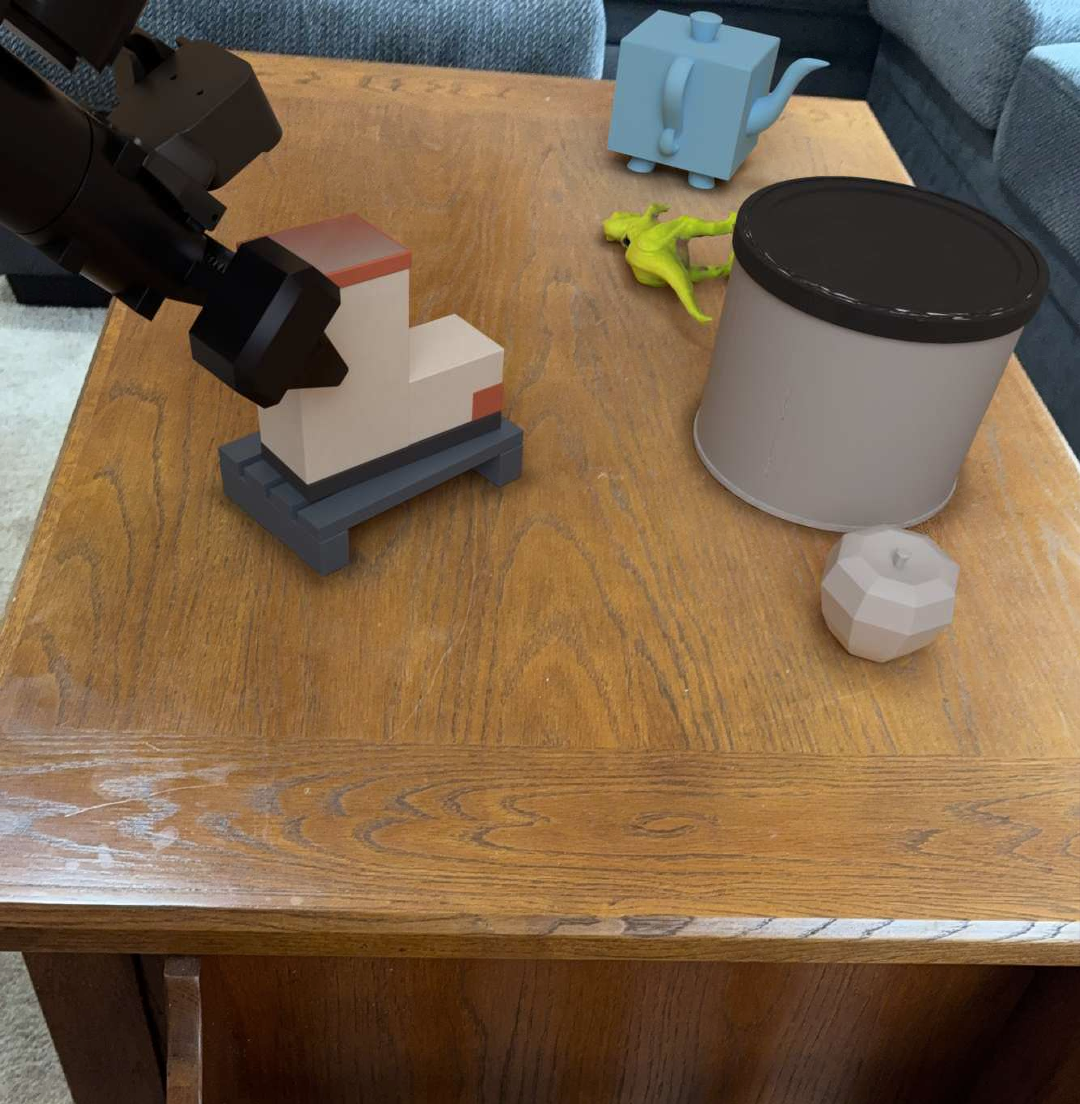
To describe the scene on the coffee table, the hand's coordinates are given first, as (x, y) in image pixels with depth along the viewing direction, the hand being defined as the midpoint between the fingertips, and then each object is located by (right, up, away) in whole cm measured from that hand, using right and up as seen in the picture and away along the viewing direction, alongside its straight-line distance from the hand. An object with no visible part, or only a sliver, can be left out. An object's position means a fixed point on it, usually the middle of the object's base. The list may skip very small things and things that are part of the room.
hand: (288, 339), depth 59 cm
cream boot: (+4, -3, +9) cm, 10 cm away
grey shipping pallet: (+3, -5, +12) cm, 13 cm away
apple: (+32, -16, +6) cm, 37 cm away
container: (+33, -1, +19) cm, 38 cm away
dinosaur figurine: (+23, +16, +34) cm, 44 cm away
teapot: (+30, +34, +50) cm, 68 cm away
